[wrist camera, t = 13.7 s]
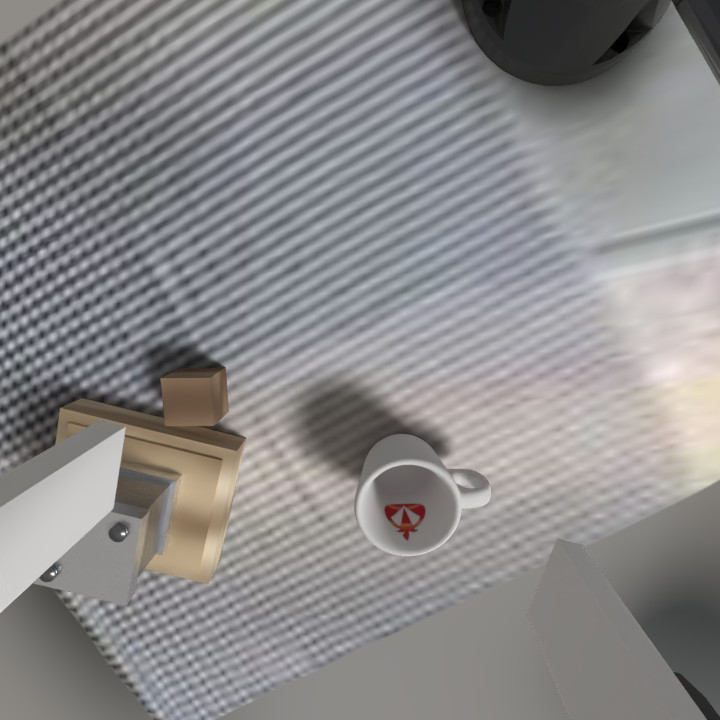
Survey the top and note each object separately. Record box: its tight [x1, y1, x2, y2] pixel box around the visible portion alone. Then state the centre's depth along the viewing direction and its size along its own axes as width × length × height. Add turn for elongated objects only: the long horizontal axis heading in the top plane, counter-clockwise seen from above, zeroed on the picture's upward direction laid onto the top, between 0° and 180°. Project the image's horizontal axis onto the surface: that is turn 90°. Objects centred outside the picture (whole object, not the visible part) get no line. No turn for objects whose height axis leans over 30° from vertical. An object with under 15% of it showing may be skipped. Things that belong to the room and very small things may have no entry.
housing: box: [33, 460, 182, 605], centre depth 35 cm, size 7×7×7 cm
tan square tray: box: [55, 398, 246, 584], centre depth 40 cm, size 13×15×3 cm
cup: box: [354, 434, 491, 556], centre depth 37 cm, size 11×8×8 cm
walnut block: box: [160, 368, 229, 426], centre depth 38 cm, size 4×4×4 cm
